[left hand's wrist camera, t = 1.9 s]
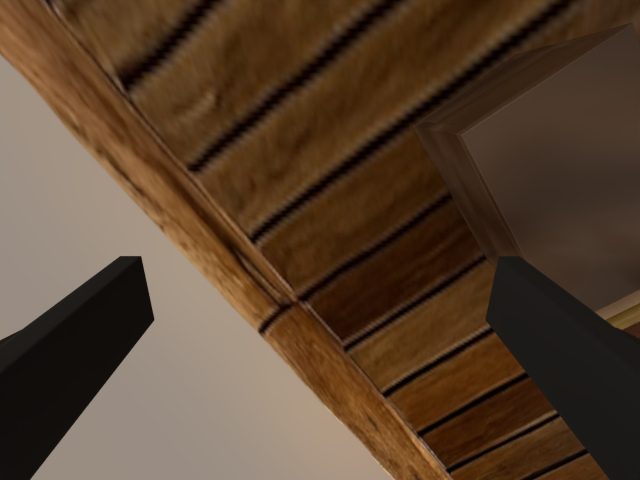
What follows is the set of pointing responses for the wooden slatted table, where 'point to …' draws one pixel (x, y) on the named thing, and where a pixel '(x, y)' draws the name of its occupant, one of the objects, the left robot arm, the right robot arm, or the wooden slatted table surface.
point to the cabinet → (551, 162)
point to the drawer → (622, 311)
